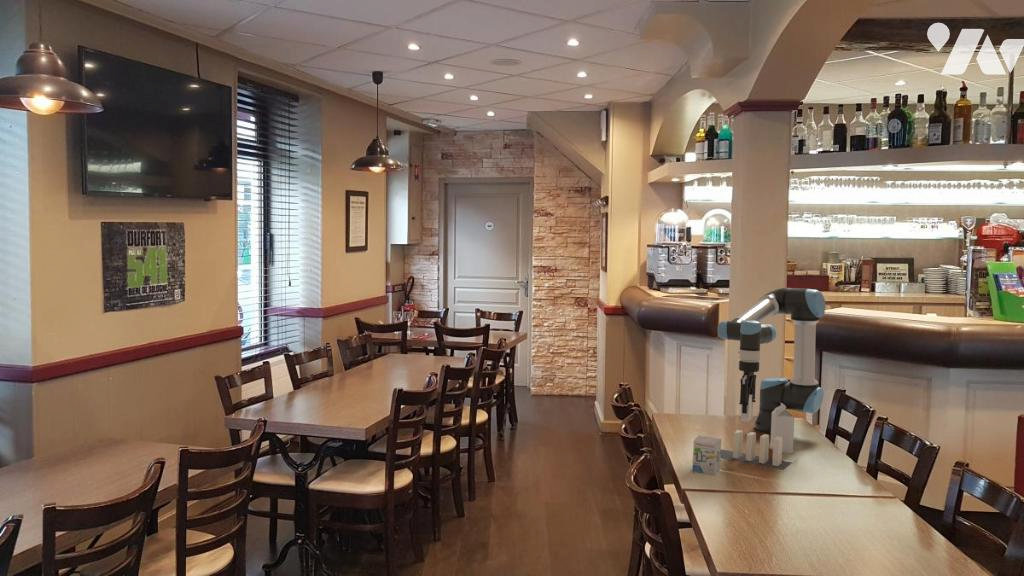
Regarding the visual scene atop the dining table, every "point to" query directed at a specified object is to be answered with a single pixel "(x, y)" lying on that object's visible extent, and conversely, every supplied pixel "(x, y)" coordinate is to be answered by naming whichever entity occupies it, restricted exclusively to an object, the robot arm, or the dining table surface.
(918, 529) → the dining table surface
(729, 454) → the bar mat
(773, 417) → the milk carton
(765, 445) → the domino
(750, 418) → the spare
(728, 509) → the dining table surface
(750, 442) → the domino
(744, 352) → the robot arm
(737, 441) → the domino
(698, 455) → the ink box
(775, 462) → the domino
